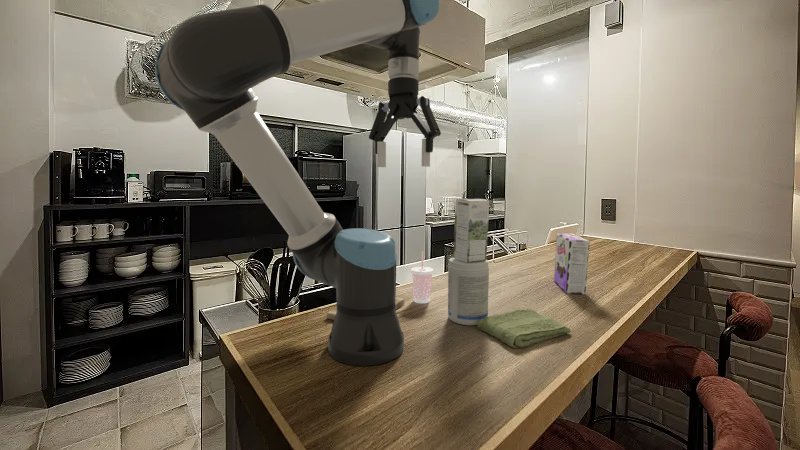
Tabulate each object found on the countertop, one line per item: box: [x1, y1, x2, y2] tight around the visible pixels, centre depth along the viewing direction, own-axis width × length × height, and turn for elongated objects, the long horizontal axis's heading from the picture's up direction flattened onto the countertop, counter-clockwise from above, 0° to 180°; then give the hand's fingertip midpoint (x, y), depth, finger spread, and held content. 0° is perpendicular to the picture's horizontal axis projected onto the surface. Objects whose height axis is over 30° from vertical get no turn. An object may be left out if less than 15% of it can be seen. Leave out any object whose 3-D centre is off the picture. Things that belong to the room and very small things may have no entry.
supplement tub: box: [447, 257, 490, 326], centre depth 88 cm, size 10×10×15 cm
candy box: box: [553, 232, 591, 296], centre depth 115 cm, size 14×6×16 cm, turn 172°
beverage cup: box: [410, 250, 434, 304], centre depth 102 cm, size 6×6×14 cm
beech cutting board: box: [326, 296, 405, 321], centre depth 94 cm, size 18×12×2 cm, turn 153°
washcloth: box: [476, 308, 572, 349], centre depth 82 cm, size 13×18×3 cm
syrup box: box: [452, 198, 490, 263], centre depth 86 cm, size 6×6×14 cm
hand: (402, 166), depth 93 cm, fingers open, 13 cm apart
